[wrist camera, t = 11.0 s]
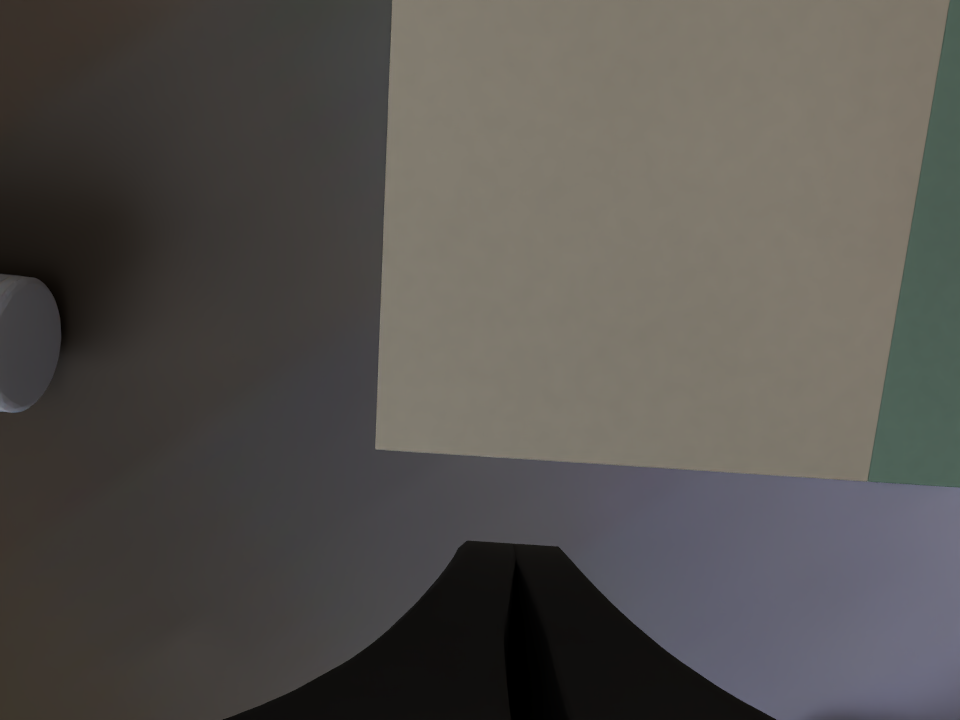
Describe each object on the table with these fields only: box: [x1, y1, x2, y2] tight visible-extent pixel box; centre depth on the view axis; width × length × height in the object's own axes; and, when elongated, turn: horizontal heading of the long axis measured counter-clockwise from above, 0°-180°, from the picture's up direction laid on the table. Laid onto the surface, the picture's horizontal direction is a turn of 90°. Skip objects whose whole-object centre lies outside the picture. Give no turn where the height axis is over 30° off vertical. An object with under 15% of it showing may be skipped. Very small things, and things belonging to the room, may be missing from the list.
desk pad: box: [375, 0, 960, 487], centre depth 19 cm, size 14×24×1 cm, turn 86°
